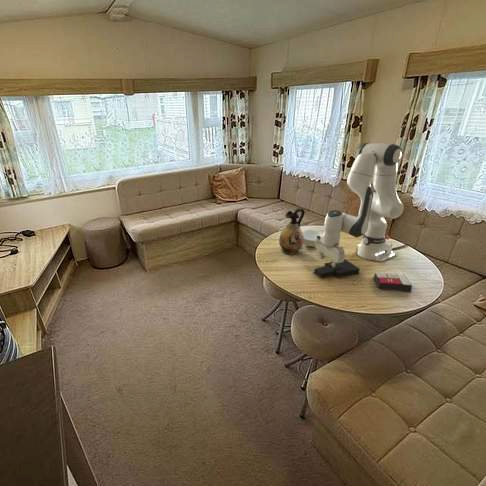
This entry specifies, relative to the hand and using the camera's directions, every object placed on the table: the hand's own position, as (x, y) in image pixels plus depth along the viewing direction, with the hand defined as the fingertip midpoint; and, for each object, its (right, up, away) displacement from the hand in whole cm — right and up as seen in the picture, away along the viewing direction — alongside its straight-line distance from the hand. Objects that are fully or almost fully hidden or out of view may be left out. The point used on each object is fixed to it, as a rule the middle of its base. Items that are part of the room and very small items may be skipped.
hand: (327, 262), depth 167 cm
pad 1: (+1, -7, +4) cm, 8 cm away
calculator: (+32, -12, -7) cm, 34 cm away
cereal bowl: (+3, +10, +38) cm, 39 cm away
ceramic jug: (-12, +5, +29) cm, 32 cm away
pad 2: (+11, -5, +7) cm, 14 cm away
